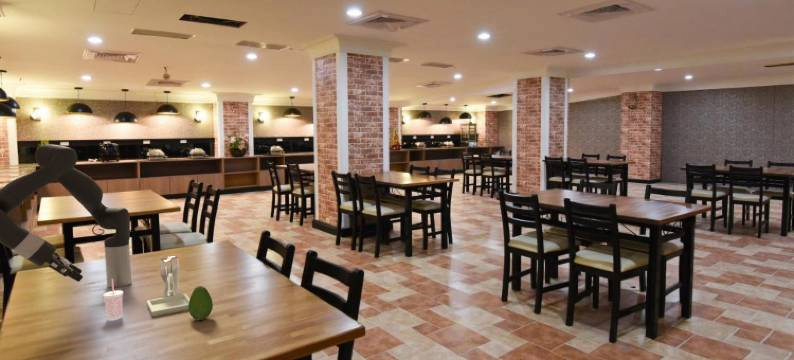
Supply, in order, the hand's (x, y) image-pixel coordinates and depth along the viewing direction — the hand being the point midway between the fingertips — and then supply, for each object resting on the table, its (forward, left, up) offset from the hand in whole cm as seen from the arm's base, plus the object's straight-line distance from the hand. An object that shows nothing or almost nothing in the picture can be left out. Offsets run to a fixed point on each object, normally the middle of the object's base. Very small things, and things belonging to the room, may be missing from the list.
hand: (80, 276), depth 167 cm
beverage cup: (0, +9, -17) cm, 19 cm away
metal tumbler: (-15, +30, -17) cm, 38 cm away
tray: (0, +27, -17) cm, 32 cm away
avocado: (+19, +34, -17) cm, 43 cm away
